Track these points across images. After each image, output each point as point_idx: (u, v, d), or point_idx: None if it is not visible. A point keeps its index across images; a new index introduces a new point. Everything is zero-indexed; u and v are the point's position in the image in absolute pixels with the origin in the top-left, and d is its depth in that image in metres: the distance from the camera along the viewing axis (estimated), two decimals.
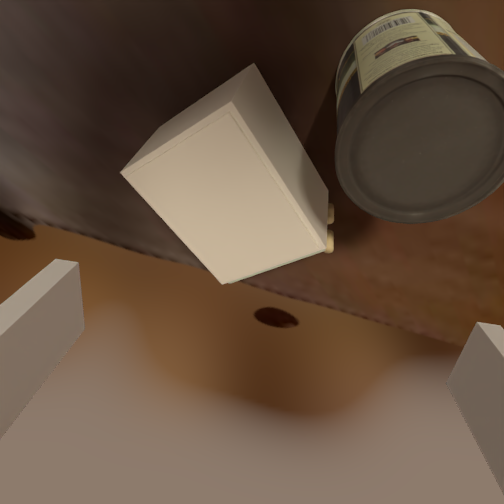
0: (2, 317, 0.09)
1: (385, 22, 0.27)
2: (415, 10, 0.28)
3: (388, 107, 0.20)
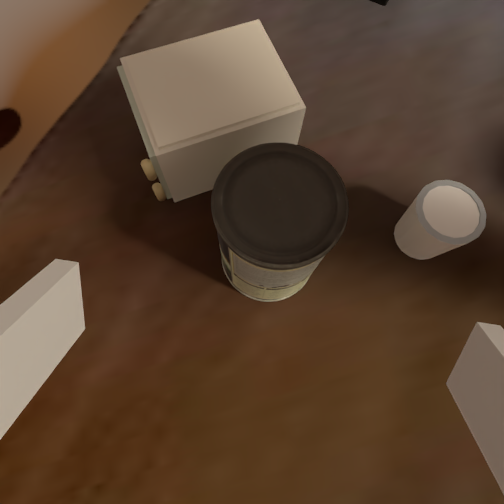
0: (2, 317, 0.09)
1: None
2: None
3: (317, 177, 0.28)
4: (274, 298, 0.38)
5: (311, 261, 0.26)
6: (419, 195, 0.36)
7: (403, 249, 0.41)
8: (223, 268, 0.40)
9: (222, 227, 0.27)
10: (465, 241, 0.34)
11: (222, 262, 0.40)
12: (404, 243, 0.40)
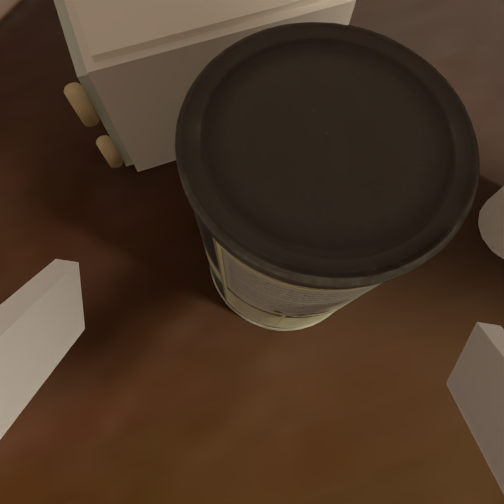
0: (2, 317, 0.09)
1: None
2: None
3: (406, 91, 0.13)
4: (294, 327, 0.23)
5: (405, 271, 0.11)
6: None
7: (495, 249, 0.26)
8: None
9: (198, 191, 0.12)
10: None
11: None
12: (502, 239, 0.25)
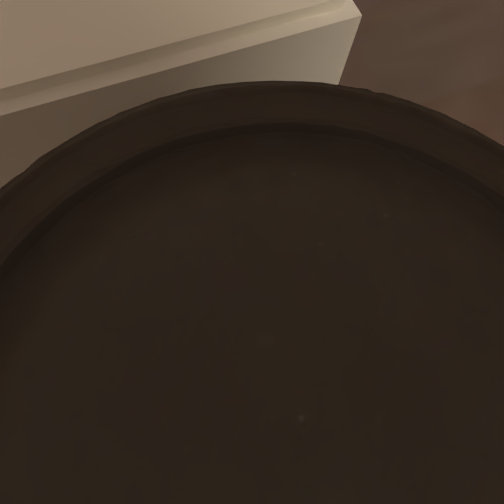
0: None
1: None
2: None
3: None
4: None
5: None
6: None
7: None
8: None
9: None
10: None
11: None
12: None
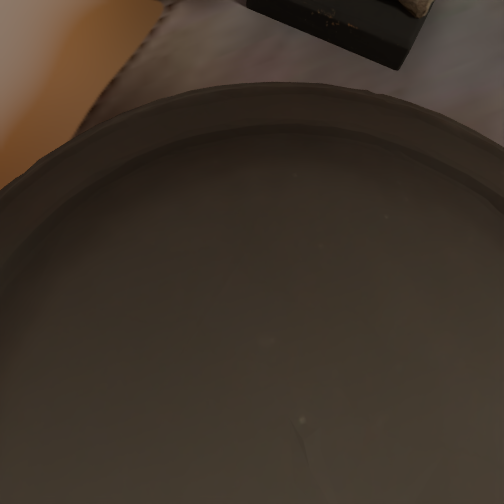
0: None
1: None
2: None
3: None
4: None
5: None
6: None
7: None
8: None
9: None
10: None
11: None
12: None
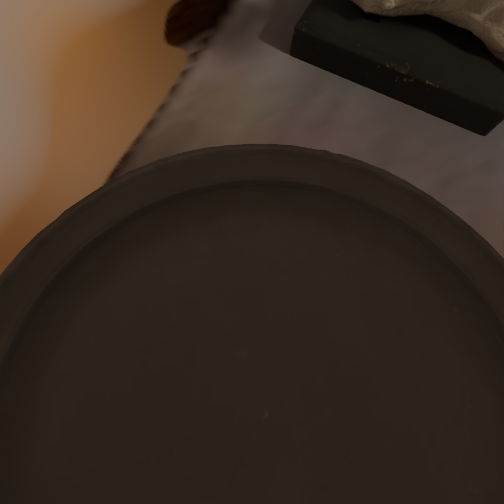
0: None
1: None
2: None
3: (434, 300, 0.06)
4: None
5: None
6: None
7: None
8: None
9: None
10: None
11: None
12: None
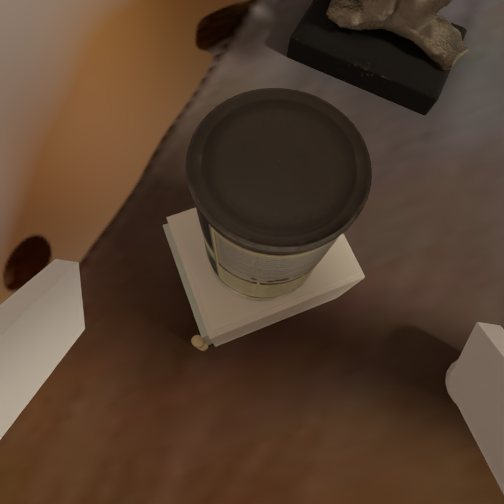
0: (2, 317, 0.09)
1: None
2: None
3: (329, 134, 0.21)
4: (269, 296, 0.31)
5: (322, 243, 0.19)
6: None
7: None
8: (208, 259, 0.33)
9: (200, 196, 0.20)
10: None
11: (206, 252, 0.33)
12: None
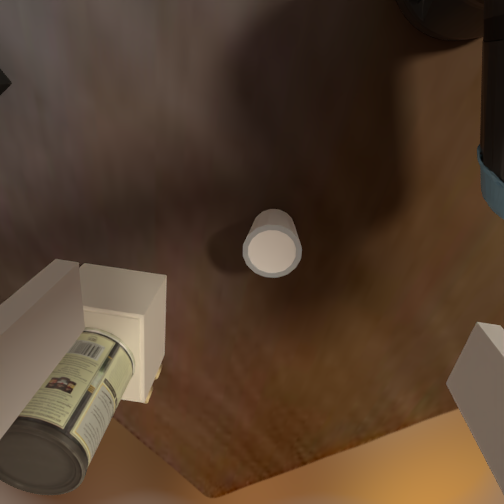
0: (2, 317, 0.09)
1: (91, 341, 0.43)
2: (116, 339, 0.45)
3: (17, 435, 0.33)
4: None
5: (83, 468, 0.35)
6: (247, 264, 0.43)
7: None
8: None
9: (41, 492, 0.37)
10: (298, 259, 0.42)
11: None
12: None
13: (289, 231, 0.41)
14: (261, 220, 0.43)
